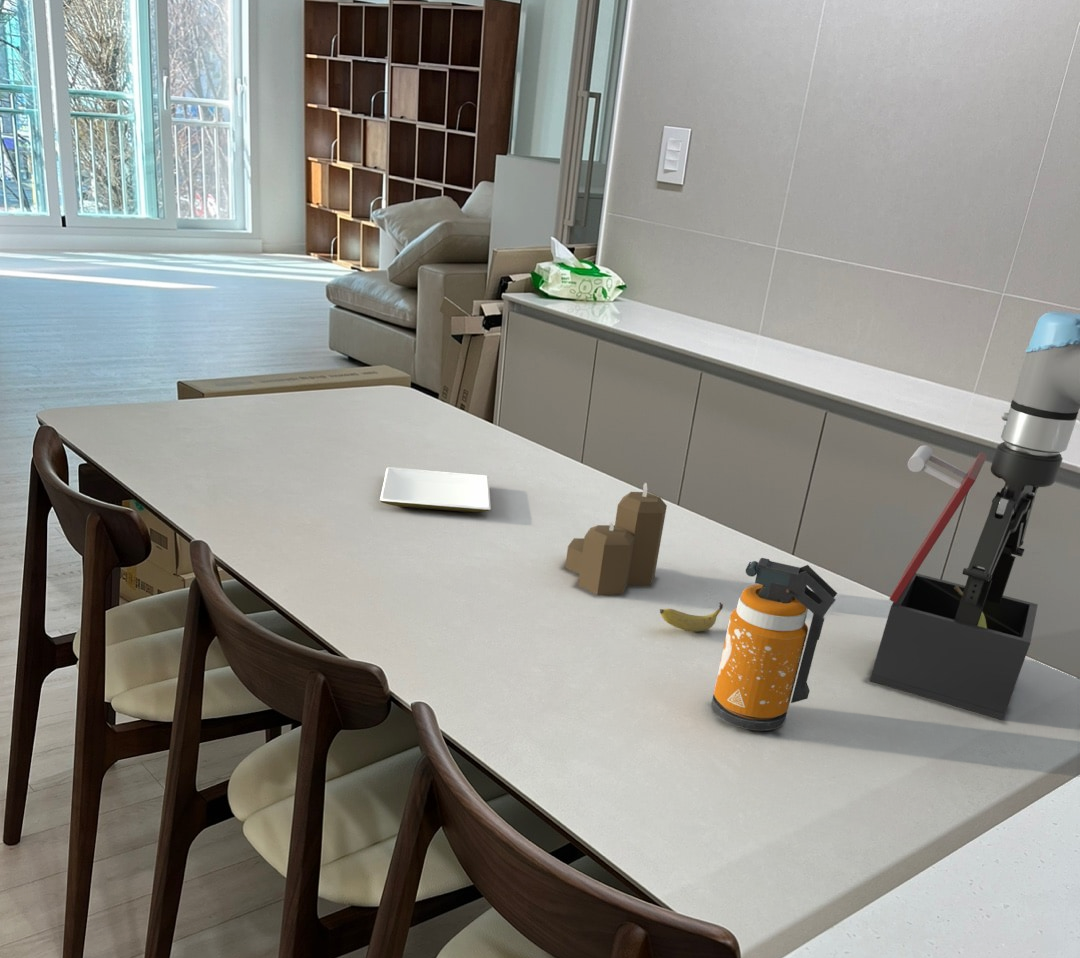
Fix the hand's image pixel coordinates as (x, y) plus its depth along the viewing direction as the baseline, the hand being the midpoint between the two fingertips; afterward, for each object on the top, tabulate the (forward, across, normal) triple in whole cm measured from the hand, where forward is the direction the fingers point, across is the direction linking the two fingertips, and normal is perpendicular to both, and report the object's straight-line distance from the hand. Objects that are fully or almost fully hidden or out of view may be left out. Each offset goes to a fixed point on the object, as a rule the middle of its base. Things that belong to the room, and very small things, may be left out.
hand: (977, 612), depth 138 cm
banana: (+10, +14, -34) cm, 38 cm away
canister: (+11, +30, -16) cm, 36 cm away
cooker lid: (-10, +1, -7) cm, 12 cm away
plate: (+10, -1, -93) cm, 93 cm away
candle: (+10, +5, -52) cm, 53 cm away
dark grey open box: (+10, 0, -2) cm, 11 cm away
